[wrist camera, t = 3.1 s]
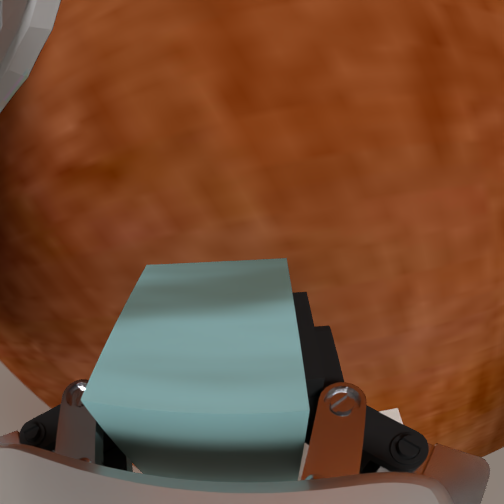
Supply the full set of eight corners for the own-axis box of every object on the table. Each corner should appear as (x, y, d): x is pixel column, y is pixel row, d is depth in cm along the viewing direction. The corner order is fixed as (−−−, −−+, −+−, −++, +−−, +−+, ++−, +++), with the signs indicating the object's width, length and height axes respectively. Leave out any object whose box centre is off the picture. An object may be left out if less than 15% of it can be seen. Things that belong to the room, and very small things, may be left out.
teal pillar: (146, 264, 11) (80, 400, 6) (286, 258, 11) (309, 409, 5) (174, 359, 13) (148, 478, 8) (286, 357, 13) (296, 484, 8)
